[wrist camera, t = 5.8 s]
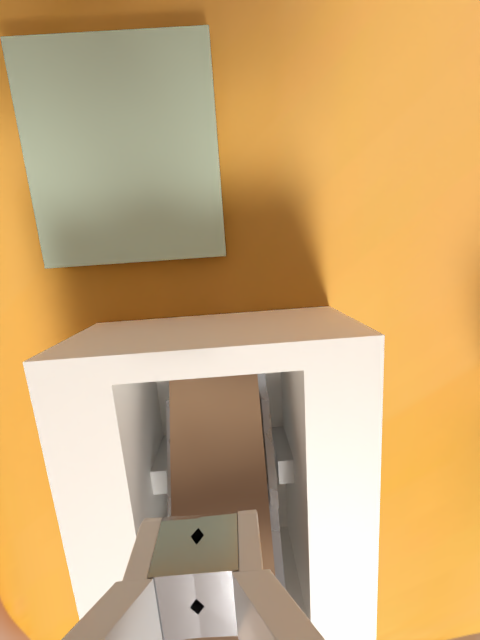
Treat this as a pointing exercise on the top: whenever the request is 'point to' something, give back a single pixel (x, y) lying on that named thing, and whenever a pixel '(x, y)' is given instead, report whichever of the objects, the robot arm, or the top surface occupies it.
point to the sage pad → (119, 143)
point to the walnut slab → (219, 453)
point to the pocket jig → (287, 432)
